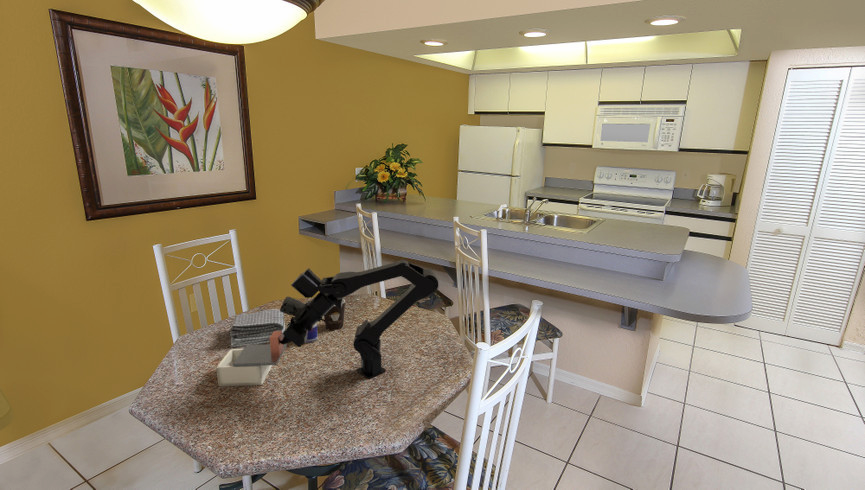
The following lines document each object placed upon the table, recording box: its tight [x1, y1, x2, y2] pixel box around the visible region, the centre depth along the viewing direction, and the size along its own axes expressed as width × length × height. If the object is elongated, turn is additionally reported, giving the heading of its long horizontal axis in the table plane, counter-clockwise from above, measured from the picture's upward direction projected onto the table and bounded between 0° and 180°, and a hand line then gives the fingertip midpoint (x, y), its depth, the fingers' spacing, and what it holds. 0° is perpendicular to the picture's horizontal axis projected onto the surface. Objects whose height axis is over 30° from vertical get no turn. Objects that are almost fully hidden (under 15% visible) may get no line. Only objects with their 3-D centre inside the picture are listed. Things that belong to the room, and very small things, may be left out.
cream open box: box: [215, 348, 273, 387], centre depth 127 cm, size 12×11×6 cm
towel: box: [229, 308, 286, 349], centre depth 153 cm, size 15×18×8 cm
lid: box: [233, 331, 288, 366], centre depth 126 cm, size 12×11×7 cm
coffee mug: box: [321, 298, 346, 331], centre depth 161 cm, size 12×9×10 cm
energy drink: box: [305, 322, 319, 344], centre depth 150 cm, size 5×5×12 cm
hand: (281, 343), depth 126 cm, fingers closed, pressing on lid
